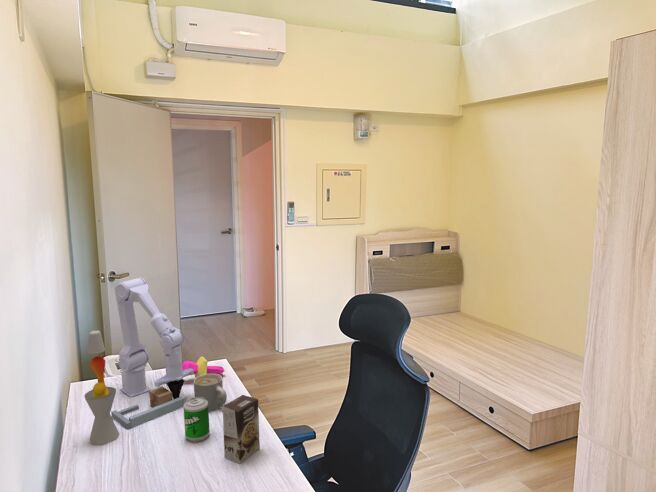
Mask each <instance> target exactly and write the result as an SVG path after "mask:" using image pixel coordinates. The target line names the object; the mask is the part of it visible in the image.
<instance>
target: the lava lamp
mask: <svg viewBox="0 0 656 492" xmlns="http://www.w3.org/2000/svg"><path fill="white" fill-rule="evenodd" d="M88 335H89V336H88V343H87V353H88V354H89V355H91V354H92V355H95V354H101V353H103V352H105V351H106V348H105V343H104V341H103V336H102V333H101V331H100V330H92V331H90V332H89V333H88ZM106 363H107V361H106V360H105V358H104V357H103V356H101V355H98V356H94V357H93V358H92V359H91V360H90V362H89V366H90V369H92V371H93V372H94V373H95V375H96V378H97V382H96V383H95V384H94V385H93V388H92V389H91V390H89V391H87V392H86V393H85V394H84V396H83V397H84V399H85V401H86V404H87V406H89V409H90V411H91V413H92V414H93V416H94V420H93V424H92V428H91V431H90V436H89V443H90V444H91V445H93V444H94V445H95V446H102V445H108V444H110V443H113V442H114V441H115V440H117V439H118V438H119V436H120V431H119V430H118V428H117V426H116V424H115V421H114V420H113V418H112V414H111V412H112V408H113V404H114V402H115V401H114V400H115V398H116V397H115V396H116V393H117V389H116V388H115V387H113V386H106V383H105V369H106Z"/></svg>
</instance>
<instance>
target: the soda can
mask: <svg viewBox="0 0 656 492" xmlns="http://www.w3.org/2000/svg"><path fill="white" fill-rule="evenodd" d="M182 408H183V418H184V419H183V420H184V436H185V438H186V440H188V441H190V442H192V443H196V442H201V441H203V440H206V439H207V437H208V436H209V435H210V432H211V431H210V430H211V429H210V419H209V418H210V415H209V413H210V412H208V401H207V400H205V399H204V398H203V397H191V398H188V399H187V400H186V401H185V404H184V405H183V407H182Z"/></svg>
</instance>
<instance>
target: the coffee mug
mask: <svg viewBox="0 0 656 492" xmlns="http://www.w3.org/2000/svg"><path fill="white" fill-rule="evenodd" d="M193 393H194V394H193V395H194V397H203V398H204V399H205V400H207V401H208V412H209V413H211V412H216V411H218V410H221V408H223V406H224V405H225V403H227V391H226V390H225V388H224V387H223V376H222V374H204V375H200V376H198V377H196V378H195V377H194V378H193Z"/></svg>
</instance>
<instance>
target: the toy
mask: <svg viewBox="0 0 656 492" xmlns="http://www.w3.org/2000/svg"><path fill="white" fill-rule="evenodd" d="M190 368H191V369H193V371H194V379H195V378H196V377H198V376H200V375H204V374H219V375H222V374H223V373H224V372H225V369H224V367H223V366H221V365H208V360H207V359H206V358H205V357H204V356H200V357H199V358H198V360H197V361H196V362H194V361H190V360H185V361H182V370H186V369H190ZM189 376H190V375H188V376H187V377H189Z"/></svg>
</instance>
